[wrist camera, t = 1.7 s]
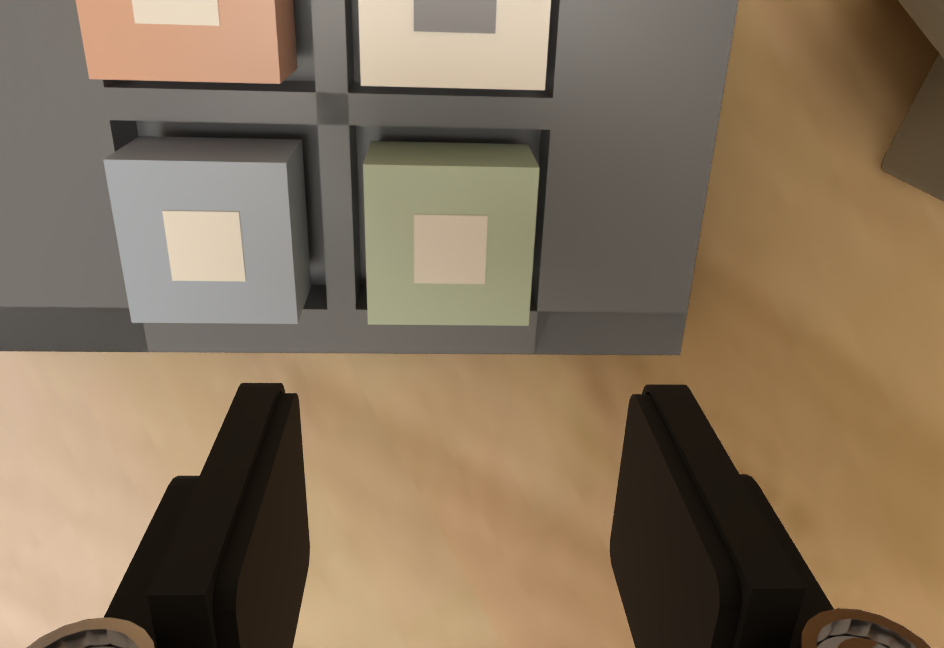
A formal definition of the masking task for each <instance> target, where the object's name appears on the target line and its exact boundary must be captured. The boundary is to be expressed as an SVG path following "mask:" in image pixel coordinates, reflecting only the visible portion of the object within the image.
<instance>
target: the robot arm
mask: <svg viewBox="0 0 944 648" xmlns="http://www.w3.org/2000/svg"><path fill="white" fill-rule="evenodd" d="M309 555H310V541H309V528H308V514H307V501H306V488H305V474H304V461H303V448H302V435H301V421H300V408H299V398H298V395H297V393H285V390H284V386H283V384H282V383H241V384H240V386H239V388H238V390H237V392H236V395H235V397H234V399H233V401H232V404H231V406H230V408H229V411H228V413H227V415H226V417H225V420H224V422H223V424H222V426H221V429H220V431H219V433H218V436H217V438H216V440H215V442H214V445H213V447H212V449H211V451H210V454H209V456H208V458H207V461H206V463H205V465H204V467H203V470H202V472H201V474H200V476H177V477H175V478H173V479H172V481H171V482H170V484H169V485H168V487H167V489H166V491H165V494H164V496H163V498H162V500H161V502H160V504H159V506H158V508H157V510H156V512H155V514H154V516H153V518H152V520H151V522H150V524H149V526H148V528H147V530H146V532H145V534H144V536H143V538H142V540H141V542H140V545H139V547H138V549H137V551H136V553H135V555H134V557H133V559H132V561H131V563H130V565H129V567H128V569H127V571H126V573H125V575H124V577H123V579H122V581H121V583H120V585H119V587H118V589H117V591H116V593H115V596H114V598H113V600H112V602H111V604H110V606H109V608H108V610H107V612H106V614H105V616H104V618H96V619H86V620H82V621H79V622H76V623H72V624H69V625H65V626H62V627H60V628H58V629H56V630H54V631H52V632H50V633H48V634H46V635H44V636H42V637H40V638H39V639H38V640H36V641H35V642H34V643H32V644H31V645H30V646H28V647H27V648H293V643H294V638H295V633H296V628H297V622H298V617H299V612H300V607H301V602H302V597H303V592H304V587H305V582H306V577H307V572H308V566H309ZM610 557H611V564H612V568H613V572H614V575H615V579H616V582H617V586H618V589H619V592H620V596H621V599H622V603H623V606H624V610H625V613H626V616H627V620H628V623H629V627H630V630H631V634H632V637H633V640H634V644H635V647H636V648H931V647H930V646H929V645H928V644H927V643H926V642H925V641H924V640H923V639H921V638H920V637H918V636H917V635H915V634H914V633H912V632H911V631H910V630H908V629H907V628H905V627H904V626H902V625H900V624H898V623H896V622H894V621H891V620H889V619H887V618H885V617H883V616H881V615H877V614H873V613H869V612H866V611H862V610H857V609H839V608H838V609H833V607H832V605H831V604H830V602H829V600H828V599H827V597H826V595H825V594H824V592H823V591H822V589H821V587H820V586H819V584H818V582H817V581H816V579H815V577H814V576H813V574H812V572H811V571H810V569H809V567H808V566H807V564H806V563H805V561H804V559H803V558H802V556H801V554H800V553H799V551H798V549H797V548H796V546H795V544H794V543H793V541H792V539H791V538H790V536H789V535H788V533H787V531H786V530H785V528H784V526H783V525H782V523H781V521H780V520H779V518H778V516H777V515H776V513H775V512H774V510H773V508H772V507H771V505H770V503H769V502H768V500H767V498H766V497H765V495H764V493H763V492H762V490H761V488H760V487H759V485H758V484H757V482H756V481H755V480H754V479H753V478H752V477H751V476H749V475H746V474H739V473H738V471H737V470H736V468H735V466H734V464H733V463H732V461H731V459H730V458H729V456H728V454H727V452H726V451H725V449H724V447H723V446H722V444H721V442H720V440H719V439H718V437H717V435H716V434H715V432H714V430H713V428H712V427H711V425H710V423H709V422H708V420H707V418H706V416H705V415H704V413H703V411H702V410H701V408H700V406H699V404H698V403H697V401H696V399H695V398H694V396H693V394H692V392H691V391H690V389H689V388H688V387H687V385H646V386H645V387H644V389H643V392H642V394H633V395H632V396H631V398H630V401H629V407H628V414H627V421H626V429H625V436H624V443H623V451H622V458H621V465H620V472H619V480H618V487H617V494H616V502H615V509H614V516H613V524H612V531H611V538H610Z"/></svg>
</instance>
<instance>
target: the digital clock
mask: <svg viewBox="0 0 944 648" xmlns="http://www.w3.org/2000/svg"><path fill="white" fill-rule="evenodd" d="M898 1H899V3H900V4H901V5H902V6H903V8H904V9H905V10H906V11H907V13H908V14H909V15H910V17H911V18H912V19H913V20H914V22H915V23H916V24H917V26H918V27H919V28H920V29H921V31H922V32H923V33H924V34H925V36H926V37H927V38H928V40H929V41H930V42H931V43H932V45H933V46H934V47H935V48H936V50H937V51H938V52H939V54H938V56H937V58H936V60H935V62H934V64H933V66H932V67H931V69H930V71H929V73H928V75H927V77H926V79H925V81H924V83H923V84H922V86H921V88H920V90H919V92H918V94H917V96H916V98H915V100H914V101H913V103H912V105H911V107H910V109H909V111H908V113H907V115H906V117H905V119H904V120H903V122H902V124H901V126H900V128H899V130H898V132H897V134H896V136H895V137H894V139H893V141H892V143H891V145H890V147H889V149H888V151H887V153H886V155H885V157H884V160H883V163H882V169H883V170H884V172H886V173H888V174H890V175H892V176H894V177H896V178H898V179H900V180H902V181H904V182H906V183H908V184H910V185H912V186H914V187H916V188H918V189H920V190H922V191H924V192H926V193H928V194H930V195H932V196H934V197H936V198H938V199H940V200H942V201H944V0H898Z"/></svg>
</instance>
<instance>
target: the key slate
mask: <svg viewBox="0 0 944 648" xmlns="http://www.w3.org/2000/svg"><path fill="white" fill-rule="evenodd" d="M103 161H104V167H105V173H106V178H107V184H108V190H109V196H110V202H111V207H112V213H113V219H114V225H115V230H116V236H117V242H118V248H119V253H120V259H121V265H122V271H123V276H124V282H125V288H126V294H127V299H128V305H129V311H130V317H131V322H132V323H239V324H298V322H299V319H300V316H301V313H302V311H303V308H304V305H305V302H306V299H307V297H308V294H309V291H310V288H311V275H310V259H309V243H308V228H307V212H306V196H305V180H304V164H303V148H302V140H299V139H251V138H202V137H154V136H139V137H137V138H136V139H134V140H133V141H131V142H130V143H128V144H127V145H125V146H123V147H122V148H120V149H119V150H117V151H116V152H114V153H113V154H111V155H109V156H108V157H106V158H105V159H103Z"/></svg>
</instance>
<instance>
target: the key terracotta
mask: <svg viewBox="0 0 944 648" xmlns="http://www.w3.org/2000/svg"><path fill="white" fill-rule="evenodd" d="M76 6H77V12H78V17H79V23H80V29H81V35H82V40H83V46H84V52H85V58H86V63H87V69H88V75H89V79H102V80H143V81H184V82H225V83H265V84H281V83H282V82H283V81H284V80H285V79H286V78H287V77H289V76H290V75H291V74H292V73H293V72H294V71H295V70H296V69H298V68H297V52H296V36H295V20H294V4H293V0H76Z"/></svg>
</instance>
